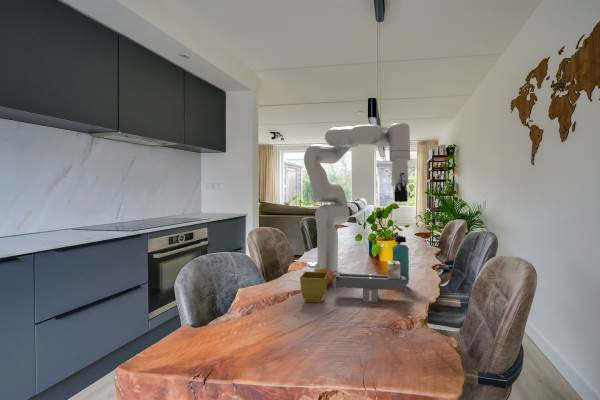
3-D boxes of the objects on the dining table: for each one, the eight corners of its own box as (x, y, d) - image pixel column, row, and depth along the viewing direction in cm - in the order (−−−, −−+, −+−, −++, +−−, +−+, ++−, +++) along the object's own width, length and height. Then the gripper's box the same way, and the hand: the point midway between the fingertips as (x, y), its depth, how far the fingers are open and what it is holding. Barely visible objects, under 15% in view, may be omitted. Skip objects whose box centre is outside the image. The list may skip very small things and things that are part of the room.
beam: (335, 299, 121) (335, 277, 121) (337, 292, 130) (337, 271, 130) (406, 303, 116) (406, 281, 116) (403, 295, 125) (403, 274, 125)
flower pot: (325, 305, 115) (325, 278, 114) (299, 303, 116) (299, 277, 116) (328, 297, 123) (328, 272, 123) (304, 296, 125) (304, 271, 125)
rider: (388, 284, 119) (388, 263, 119) (387, 279, 125) (387, 260, 124) (400, 284, 118) (400, 264, 118) (398, 280, 124) (398, 260, 124)
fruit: (333, 279, 143) (333, 265, 138) (333, 294, 136) (333, 279, 132) (314, 279, 143) (313, 264, 139) (313, 293, 137) (312, 279, 133)
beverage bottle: (405, 289, 133) (406, 237, 132) (389, 286, 137) (389, 236, 136) (411, 286, 138) (411, 236, 138) (395, 283, 142) (395, 234, 142)
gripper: (386, 159, 140) (387, 201, 140) (392, 153, 123) (393, 202, 123) (405, 158, 139) (406, 201, 139) (414, 153, 122) (415, 201, 122)
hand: (400, 201), depth 131 cm, fingers open, 9 cm apart
